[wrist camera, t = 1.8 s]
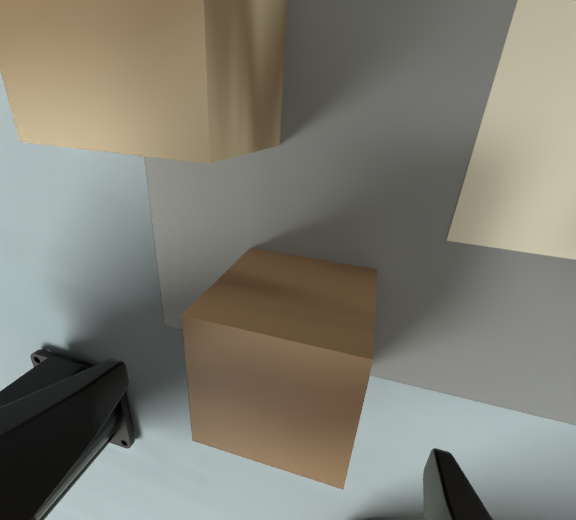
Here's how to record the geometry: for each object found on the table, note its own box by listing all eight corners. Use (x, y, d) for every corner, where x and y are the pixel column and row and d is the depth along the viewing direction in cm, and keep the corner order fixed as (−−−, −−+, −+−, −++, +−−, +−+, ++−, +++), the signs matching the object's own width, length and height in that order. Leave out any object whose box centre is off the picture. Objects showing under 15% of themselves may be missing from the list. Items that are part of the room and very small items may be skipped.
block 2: (356, 371, 14) (343, 489, 10) (248, 346, 15) (192, 440, 11) (377, 269, 12) (372, 359, 7) (250, 247, 13) (181, 315, 9)
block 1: (279, 145, 11) (209, 163, 7) (152, 132, 12) (19, 141, 8) (289, -46, 9) (196, -206, 4) (134, -40, 10) (-64, -165, 6)
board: (699, 443, 12) (715, 459, 11) (171, 318, 17) (164, 325, 16) (1164, -61, 6) (1246, -80, 5) (133, -32, 11) (120, -40, 10)
